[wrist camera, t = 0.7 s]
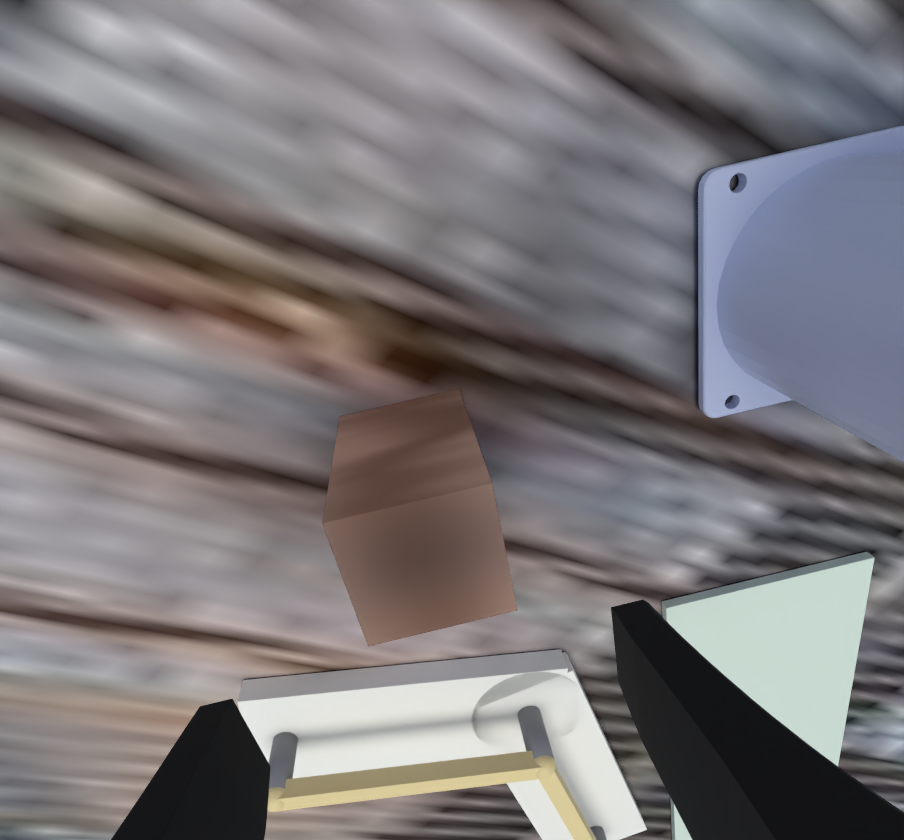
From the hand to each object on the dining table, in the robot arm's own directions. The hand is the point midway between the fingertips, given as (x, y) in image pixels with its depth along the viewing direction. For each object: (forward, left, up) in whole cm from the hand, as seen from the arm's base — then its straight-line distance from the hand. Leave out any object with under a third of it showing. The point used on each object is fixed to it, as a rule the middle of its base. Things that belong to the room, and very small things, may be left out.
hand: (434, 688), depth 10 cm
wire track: (+2, +17, -9) cm, 19 cm away
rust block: (0, 0, -9) cm, 9 cm away
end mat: (-13, +19, -9) cm, 25 cm away
